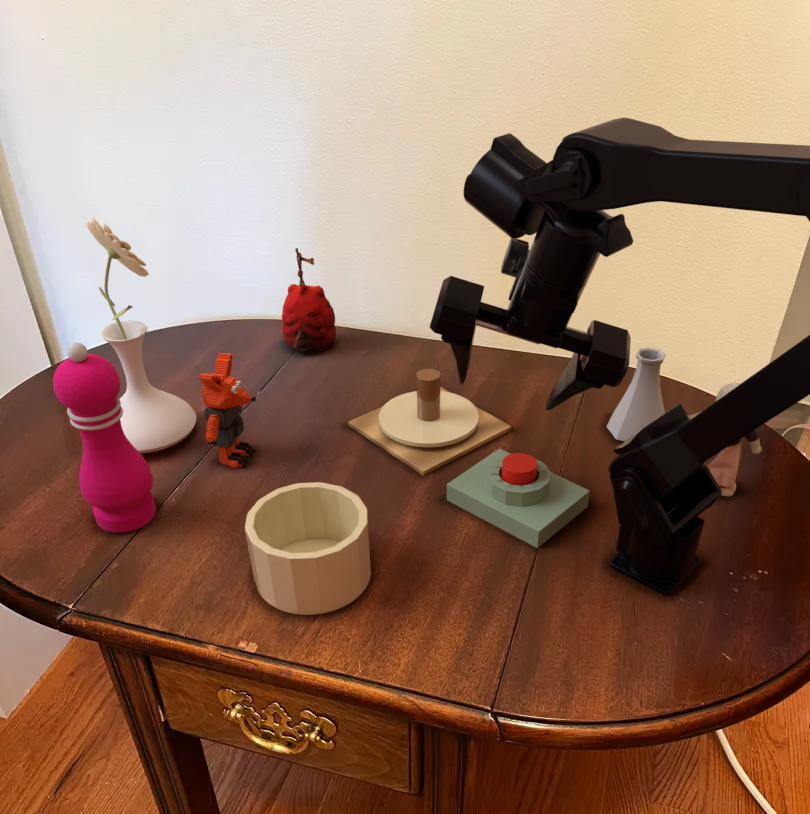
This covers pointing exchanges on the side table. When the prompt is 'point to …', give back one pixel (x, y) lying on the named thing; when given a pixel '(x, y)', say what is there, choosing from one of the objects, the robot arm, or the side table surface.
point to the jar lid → (428, 414)
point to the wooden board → (429, 456)
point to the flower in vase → (140, 367)
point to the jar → (309, 547)
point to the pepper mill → (104, 443)
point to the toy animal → (225, 412)
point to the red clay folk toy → (307, 315)
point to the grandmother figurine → (731, 455)
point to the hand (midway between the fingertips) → (504, 394)
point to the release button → (519, 469)
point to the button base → (518, 499)
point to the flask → (640, 397)
